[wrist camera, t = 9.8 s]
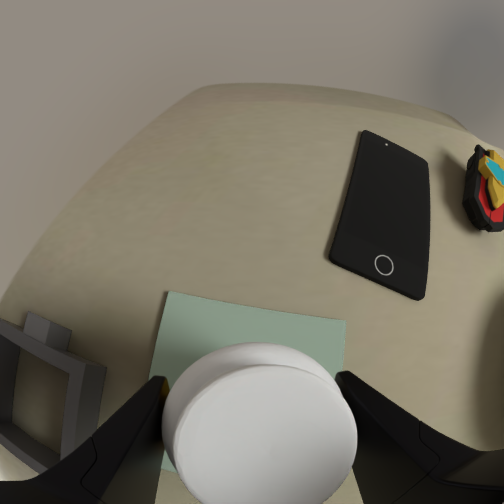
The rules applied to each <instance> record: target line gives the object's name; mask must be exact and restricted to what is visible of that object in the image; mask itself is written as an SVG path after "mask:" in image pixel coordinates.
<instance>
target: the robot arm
mask: <svg viewBox="0 0 504 504" xmlns="http://www.w3.org/2000/svg"><path fill="white" fill-rule="evenodd" d="M334 381H335V382H336V384H337V385H338V387H339V389H340V391H341V393H342V395H343V398H344V399H345V401H346V402H347V404H348V406H349V408H350V409H351V412H352V414H353V416H354V420H355V423H356V428H357V450H356V455H355V459H354V462H353V465H352V469H353V472H354V475H355V478H356V481H357V484H358V488H359V491H360V494H361V497H362V500H363V503H364V504H504V449H502V450H495V451H479V450H475V449H473V448H470V447H468V446H466V445H464V444H462V443H460V442H458V441H455V440H453V439H451V438H449V437H447V436H445V435H444V434H442V433H440V432H438V431H436V430H435V429H433V428H431V427H430V426H428V425H427V424H425V423H424V422H422V421H419V419H417V418H416V417H414V416H413V415H411V414H410V413H408V412H407V411H405V410H404V409H403V408H401V407H400V406H398V405H397V404H395V403H394V402H392V401H391V400H389V399H388V398H387V397H385V396H384V395H382V394H381V393H379V392H378V391H377V390H375V389H374V388H372V387H371V386H369V385H368V384H367V383H365V382H364V381H362V380H361V379H360V378H358V377H357V376H356V375H354V374H353V373H351V372H350V371H340V372H337V373H336V375H335V379H334ZM169 392H170V389H169V384H168V380H167V378H166V376H160V375H154V376H153V377H152V378H151V379H150V380H149V381H148V382H147V383H145V384H144V385H143V386H142V387H141V388H140V389H139V390H138V391H137V392H136V393H135V394H134V395H133V396H132V397H131V398H130V399H129V400H128V401H127V402H126V403H125V404H124V405H123V406H122V407H121V408H120V409H118V410H117V411H116V412H115V413H114V414H113V415H112V416H111V417H110V418H109V419H108V420H107V421H106V422H105V423H104V424H103V425H102V426H101V427H99V428H98V429H97V430H96V431H95V432H94V433H93V434H92V437H91V436H90V437H89V438H88V439H87V440H85V441H84V442H83V443H82V444H81V445H80V446H79V447H78V448H76V449H75V450H74V451H73V452H71V453H70V454H69V455H67V456H66V457H65V458H63V459H62V460H61V461H59V462H58V463H56V464H55V465H53V466H52V467H50V468H49V469H47V470H46V471H44V472H43V473H41V474H40V475H38V476H36V477H34V478H32V479H28V480H24V481H0V504H155V498H156V492H157V487H158V481H159V476H160V471H161V466H162V461H163V456H164V451H165V447H164V443H163V438H162V430H161V424H162V414H163V409H164V405H165V402H166V399H167V397H168V394H169Z"/></svg>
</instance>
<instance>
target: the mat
mask: <svg viewBox="0 0 504 504" xmlns="http://www.w3.org/2000/svg"><path fill="white" fill-rule="evenodd" d="M345 333H346V321H345V320H337V319H329V318H321V317H314V316H307V315H300V314H293V313H286V312H280V311H273V310H267V309H261V308H255V307H249V306H243V305H238V304H232V303H227V302H221V301H216V300H211V299H206V298H201V297H196V296H191V295H186V294H181V293H177V292H172V291H169V292H168V296H167V300H166V304H165V308H164V312H163V316H162V320H161V324H160V328H159V332H158V337H157V341H156V345H155V350H154V354H153V359H152V364H151V369H150V374H149V379H148V381H149V380H150V379H151V378H152V377H153V376H154V375H160V376H166V378H167V380H168V384H169V389H170V390H171V389H172V387H173V385H174V384H175V382H176V381H177V379H178V378H179V377H180V376H181V375H182V373H183V372H184V371H185V370H186V369H187V368H188V367H190V366H191V365H192V364H193V363H194V362H196V361H197V360H199V359H200V358H202V357H203V356H205V355H207V354H209V353H211V352H213V351H216V350H218V349H220V348H223V347H226V346H230V345H234V344H238V343H245V342H268V343H275V344H280V345H284V346H287V347H290V348H293V349H296V350H298V351H300V352H302V353H304V354H306V355H308V356H309V357H311V358H312V359H314V360H315V361H317V362H318V363H319V364H320V365H321V366H322V367H323V368H324V369H325V370H326V371H327V372H328V373H329V374H330V375H331V377H332V378H333V379H335V375H336V373H337V372H340V371H342V367H343V357H344V346H345ZM161 469H165V470H168V471H172V472H176V473H178V472H177V471H176V470H175V468H174V466H173V465H172V463H171V461H170V459H169V457H168V455H167V452H166V450H165V451H164V456H163V461H162V466H161Z"/></svg>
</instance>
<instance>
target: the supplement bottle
mask: <svg viewBox="0 0 504 504" xmlns="http://www.w3.org/2000/svg"><path fill="white" fill-rule="evenodd" d="M161 430H162V438H163V443H164V447H165V450H166V452H167V455H168V457H169V459H170V461H171V463H172V465H173V466H174V468H175V470H176V471H177V472H178V474H179V476H180V478H181V480H182V482H183V483H184V485H185V486H186V488H187V489H188V490H189V492H190V493H191V494H192V495H193V496H194V497H195V498H196V499H197V500H198V501H199V502H201V503H202V504H322V503H323V502H324V501H326V500H327V499H328V498H329V497H330V496H331V495H332V494H333V493H334V492H335V491H336V490H337V489H338V488H339V487H340V486H341V484H342V483H343V481H344V480H345V478H346V477H347V475H348V474H349V471H350V469H351V467H352V465H353V462H354V459H355V455H356V450H357V428H356V423H355V420H354V416H353V414H352V412H351V409H350V408H349V406H348V404H347V402H346V401H345V399H344V398H343V395H342V393H341V391H340V389H339V387H338V385H337V384H336V382H335V381H334V379H333V378H332V377H331V375H330V374H329V373H328V372H327V371H326V370H325V369H324V368H323V367H322V366H321V365H320V364H319V363H318V362H317V361H315V360H314V359H312V358H311V357H309V356H308V355H306V354H304V353H302V352H300V351H298V350H296V349H293V348H290V347H287V346H284V345H280V344H275V343H268V342H245V343H238V344H234V345H230V346H226V347H223V348H220V349H218V350H216V351H213V352H211V353H209V354H207V355H205V356H203V357H202V358H200V359H199V360H197V361H196V362H194V363H193V364H192V365H191V366H190V367H188V368H187V369H186V370H185V371H184V372H183V373H182V375H181V376H180V377H179V378H178V379H177V381H176V382H175V384H174V385H173V387H172V389H171V390H170V392H169V394H168V397H167V399H166V402H165V405H164V409H163V414H162V424H161Z"/></svg>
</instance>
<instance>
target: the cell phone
mask: <svg viewBox="0 0 504 504" xmlns="http://www.w3.org/2000/svg"><path fill="white" fill-rule="evenodd" d="M429 247H430V184H429V169H428V163H427V161H425V160H424V159H423V158H421V157H419V156H417V155H416V154H414V153H412V152H410V151H408V150H406V149H405V148H403V147H401V146H399V145H397V144H395V143H393V142H391V141H389V140H387V139H385V138H383V137H381V136H379V135H376V134H374V133H372V132H370V131H367V130H363V132H362V134H361V139H360V143H359V148H358V152H357V156H356V160H355V164H354V169H353V173H352V177H351V180H350V184H349V188H348V192H347V196H346V199H345V203H344V207H343V210H342V214H341V217H340V221H339V224H338V227H337V231H336V234H335V237H334V241H333V244H332V247H331V250H330V253H329V260H330V261H331V262H332V263H334V264H335V265H337V266H339V267H342V268H344V269H346V270H348V271H351V272H353V273H355V274H358V275H360V276H362V277H364V278H367V279H369V280H371V281H373V282H376V283H378V284H380V285H382V286H385V287H387V288H389V289H391V290H393V291H396V292H398V293H400V294H402V295H404V296H407V297H409V298H411V299H414V300H417V301H419V300H421V299H423V298H424V296H425V291H426V283H427V274H428V262H429Z"/></svg>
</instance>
